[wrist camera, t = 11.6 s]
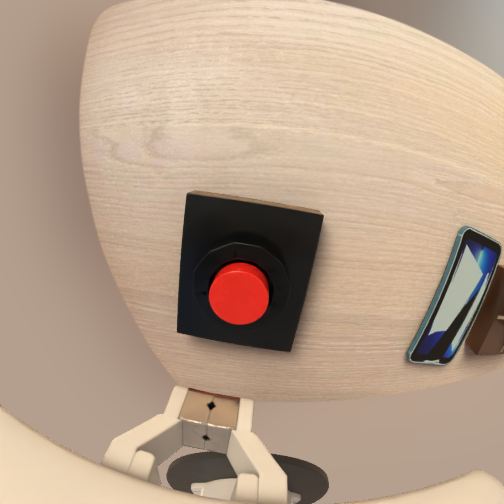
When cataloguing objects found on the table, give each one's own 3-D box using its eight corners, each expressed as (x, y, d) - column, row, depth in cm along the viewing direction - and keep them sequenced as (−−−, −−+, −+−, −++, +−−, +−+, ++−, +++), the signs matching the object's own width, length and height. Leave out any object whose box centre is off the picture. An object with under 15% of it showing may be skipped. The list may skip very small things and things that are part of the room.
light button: (263, 316, 21) (263, 329, 19) (210, 307, 21) (206, 319, 19) (273, 267, 20) (273, 276, 18) (216, 257, 20) (211, 266, 18)
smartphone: (504, 245, 20) (449, 365, 24) (499, 243, 21) (446, 361, 25) (464, 224, 20) (405, 361, 24) (459, 222, 21) (401, 356, 25)
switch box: (288, 338, 25) (291, 365, 22) (183, 320, 25) (170, 344, 22) (318, 210, 22) (329, 219, 18) (194, 190, 22) (179, 195, 18)
